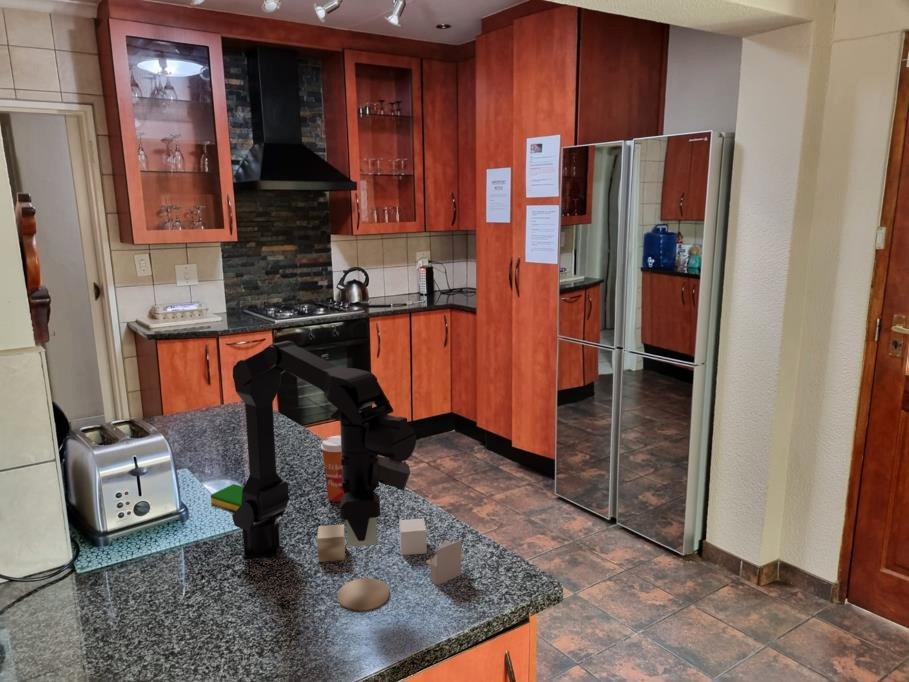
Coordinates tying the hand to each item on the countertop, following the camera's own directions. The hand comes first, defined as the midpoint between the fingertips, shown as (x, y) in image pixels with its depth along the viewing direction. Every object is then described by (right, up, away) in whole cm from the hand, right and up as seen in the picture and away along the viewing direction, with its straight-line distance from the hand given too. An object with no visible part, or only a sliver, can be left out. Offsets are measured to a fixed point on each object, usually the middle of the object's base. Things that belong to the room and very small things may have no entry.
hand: (361, 532), depth 113 cm
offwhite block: (+8, -8, +18) cm, 22 cm away
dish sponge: (-33, -5, +38) cm, 51 cm away
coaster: (0, -12, +2) cm, 12 cm away
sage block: (0, -1, 0) cm, 1 cm away
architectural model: (+14, -11, +8) cm, 20 cm away
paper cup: (-11, -4, +41) cm, 43 cm away
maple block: (-8, -9, +16) cm, 20 cm away
